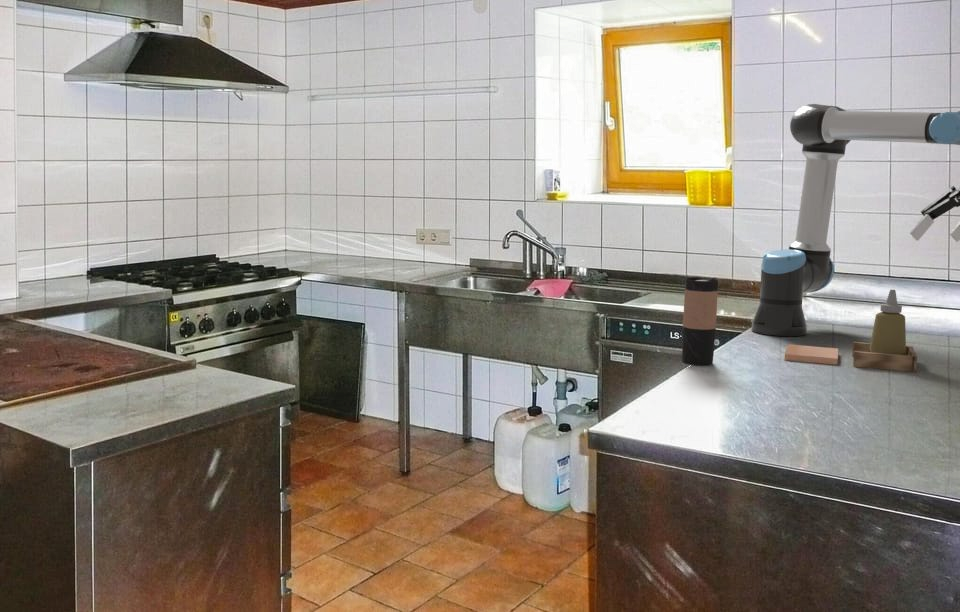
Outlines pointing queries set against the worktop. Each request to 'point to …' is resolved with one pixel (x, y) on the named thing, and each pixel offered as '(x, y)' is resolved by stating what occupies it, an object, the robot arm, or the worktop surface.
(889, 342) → the squeeze bottle
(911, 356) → the wooden tray
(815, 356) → the terracotta tile
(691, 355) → the travel mug
